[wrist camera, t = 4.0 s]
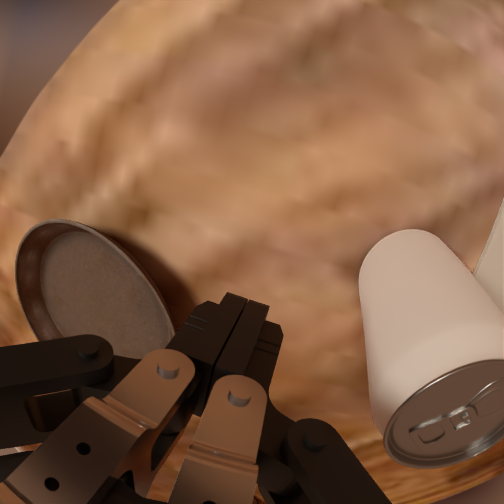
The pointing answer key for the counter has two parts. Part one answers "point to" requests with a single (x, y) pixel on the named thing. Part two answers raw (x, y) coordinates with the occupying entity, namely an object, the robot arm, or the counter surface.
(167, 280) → the counter surface
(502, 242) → the tray
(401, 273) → the can
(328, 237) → the counter surface
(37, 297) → the plant saucer
